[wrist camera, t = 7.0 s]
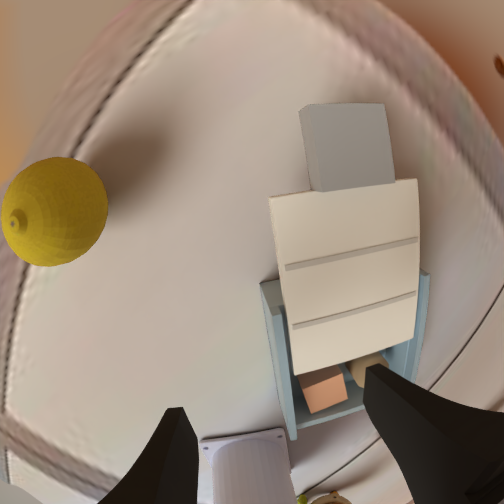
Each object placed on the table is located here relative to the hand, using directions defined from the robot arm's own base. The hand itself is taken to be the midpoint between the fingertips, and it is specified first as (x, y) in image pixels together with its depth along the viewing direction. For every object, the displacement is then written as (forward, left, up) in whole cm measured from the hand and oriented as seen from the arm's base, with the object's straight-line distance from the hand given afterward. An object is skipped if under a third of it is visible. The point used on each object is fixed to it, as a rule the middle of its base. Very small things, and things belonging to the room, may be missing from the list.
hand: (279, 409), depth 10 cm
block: (-7, -4, -9) cm, 12 cm away
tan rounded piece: (-7, -8, -9) cm, 14 cm away
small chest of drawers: (+4, -6, -6) cm, 9 cm away
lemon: (+9, +9, -10) cm, 16 cm away
